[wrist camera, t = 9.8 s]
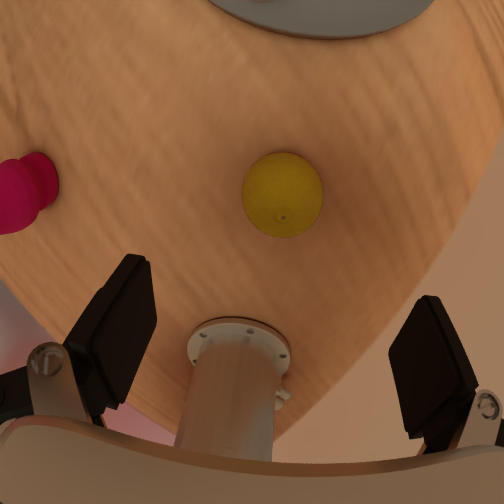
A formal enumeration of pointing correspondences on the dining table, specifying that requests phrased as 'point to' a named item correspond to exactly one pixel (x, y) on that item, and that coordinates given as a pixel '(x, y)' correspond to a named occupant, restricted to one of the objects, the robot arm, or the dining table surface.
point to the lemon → (282, 195)
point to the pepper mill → (25, 190)
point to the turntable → (324, 16)
